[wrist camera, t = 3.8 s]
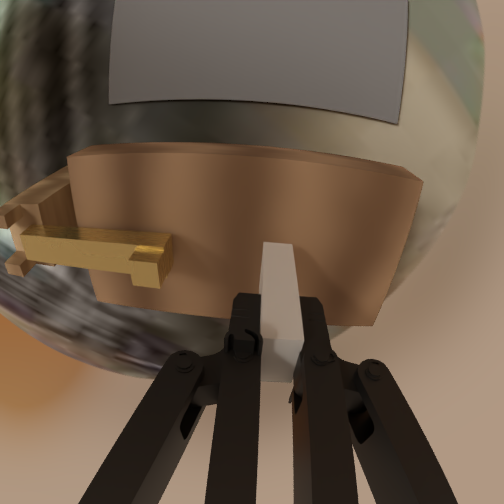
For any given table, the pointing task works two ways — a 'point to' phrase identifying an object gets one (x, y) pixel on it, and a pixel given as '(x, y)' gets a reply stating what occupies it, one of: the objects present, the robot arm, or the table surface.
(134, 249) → the key
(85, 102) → the table surface
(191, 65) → the felt mat
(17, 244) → the toolbox
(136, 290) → the lid
